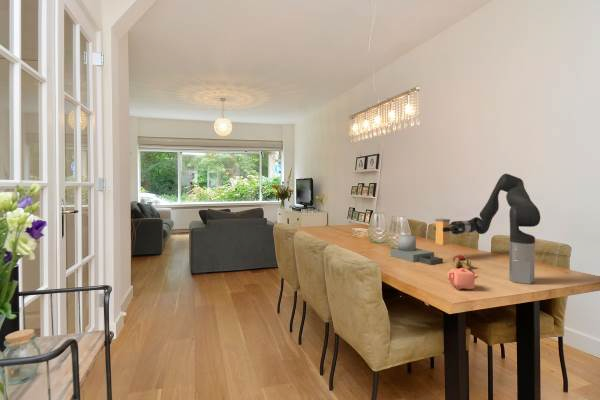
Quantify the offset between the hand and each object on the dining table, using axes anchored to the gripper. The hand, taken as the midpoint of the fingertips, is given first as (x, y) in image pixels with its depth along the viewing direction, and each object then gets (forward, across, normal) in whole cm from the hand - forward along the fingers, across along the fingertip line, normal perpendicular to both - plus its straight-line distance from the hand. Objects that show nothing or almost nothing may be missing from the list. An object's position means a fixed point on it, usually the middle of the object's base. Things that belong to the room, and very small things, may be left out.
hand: (439, 229), depth 186 cm
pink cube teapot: (+30, +39, +18) cm, 53 cm away
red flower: (+4, +18, +18) cm, 26 cm away
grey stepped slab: (+7, -9, +18) cm, 21 cm away
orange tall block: (-3, 0, +8) cm, 9 cm away
